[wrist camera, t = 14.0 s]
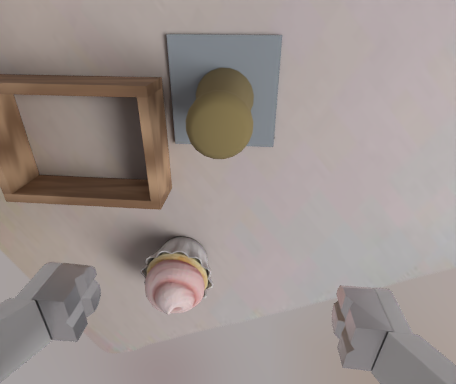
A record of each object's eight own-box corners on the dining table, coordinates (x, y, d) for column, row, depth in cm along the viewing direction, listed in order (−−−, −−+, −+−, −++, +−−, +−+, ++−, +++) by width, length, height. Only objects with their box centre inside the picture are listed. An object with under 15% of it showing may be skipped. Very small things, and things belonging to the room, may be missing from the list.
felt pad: (167, 34, 30) (166, 34, 29) (282, 35, 29) (282, 35, 29) (176, 142, 35) (175, 143, 35) (273, 145, 34) (273, 146, 34)
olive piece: (185, 110, 32) (163, 148, 23) (211, 55, 30) (198, 72, 20) (235, 136, 34) (234, 183, 24) (265, 86, 31) (276, 116, 21)
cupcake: (169, 283, 46) (148, 344, 37) (141, 235, 42) (110, 291, 33) (227, 272, 44) (219, 333, 35) (203, 219, 40) (188, 274, 31)
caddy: (-2, 74, 33) (-42, 82, 29) (161, 77, 32) (146, 86, 27) (34, 181, 39) (6, 201, 35) (171, 188, 38) (160, 209, 34)
